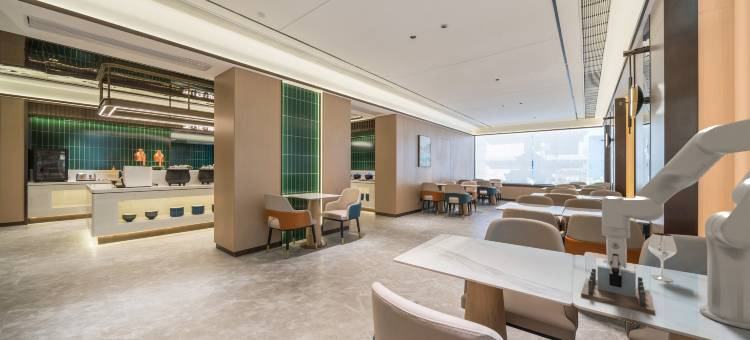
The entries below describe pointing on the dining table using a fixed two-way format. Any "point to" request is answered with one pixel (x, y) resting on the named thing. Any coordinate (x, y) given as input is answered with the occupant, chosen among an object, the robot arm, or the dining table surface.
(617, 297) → the rack
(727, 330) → the dining table surface
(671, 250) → the wineglass
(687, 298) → the dining table surface
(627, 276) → the pale blue upright panel
